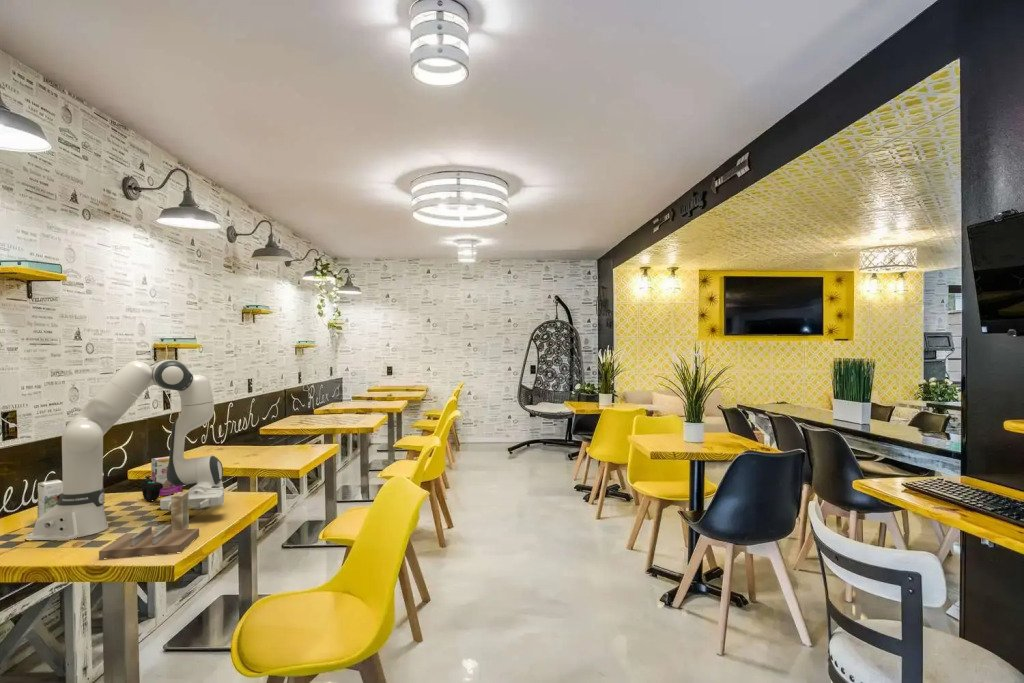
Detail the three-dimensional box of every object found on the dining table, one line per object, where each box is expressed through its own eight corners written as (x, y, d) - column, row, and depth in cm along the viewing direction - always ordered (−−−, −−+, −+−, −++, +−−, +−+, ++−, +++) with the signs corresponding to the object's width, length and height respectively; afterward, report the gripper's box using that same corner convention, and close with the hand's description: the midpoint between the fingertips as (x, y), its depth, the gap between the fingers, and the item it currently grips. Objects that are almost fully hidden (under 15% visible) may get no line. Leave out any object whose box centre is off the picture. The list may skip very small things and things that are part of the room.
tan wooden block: (171, 535, 183) (171, 496, 184) (178, 529, 189) (178, 492, 189) (181, 534, 184) (181, 496, 184) (188, 528, 190) (188, 491, 190)
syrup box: (56, 517, 206) (56, 479, 207) (63, 519, 203) (63, 480, 204) (37, 521, 202) (37, 482, 202) (44, 523, 199) (44, 484, 199)
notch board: (98, 559, 162) (98, 542, 162) (125, 541, 178) (125, 526, 178) (179, 553, 167) (179, 536, 167) (199, 535, 182) (199, 520, 182)
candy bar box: (155, 498, 231) (155, 460, 232) (150, 496, 234) (150, 458, 235) (183, 492, 240) (183, 455, 241) (178, 491, 243) (178, 454, 244)
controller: (150, 498, 232) (150, 474, 233) (164, 502, 226) (164, 477, 226) (139, 500, 229) (139, 476, 229) (153, 504, 222) (153, 480, 222)
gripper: (168, 489, 203) (152, 499, 189) (228, 486, 207) (215, 495, 193) (168, 506, 202) (152, 517, 189) (228, 503, 206) (216, 513, 193)
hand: (184, 506), depth 191 cm, fingers open, 8 cm apart
